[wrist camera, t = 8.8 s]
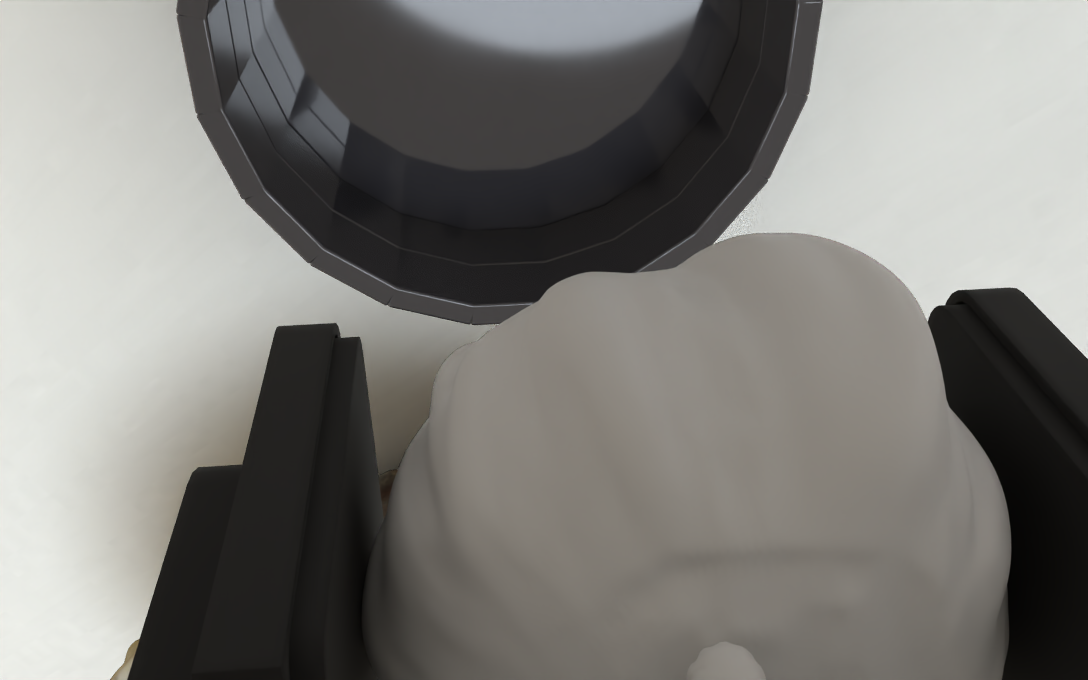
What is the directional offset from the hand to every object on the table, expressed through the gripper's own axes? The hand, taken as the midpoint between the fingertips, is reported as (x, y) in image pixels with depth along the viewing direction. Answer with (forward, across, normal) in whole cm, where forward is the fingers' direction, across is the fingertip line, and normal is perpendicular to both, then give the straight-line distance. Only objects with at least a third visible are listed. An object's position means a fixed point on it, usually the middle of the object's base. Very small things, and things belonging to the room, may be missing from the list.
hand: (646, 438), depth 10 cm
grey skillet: (+17, 0, 0) cm, 17 cm away
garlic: (+1, 0, 0) cm, 1 cm away
